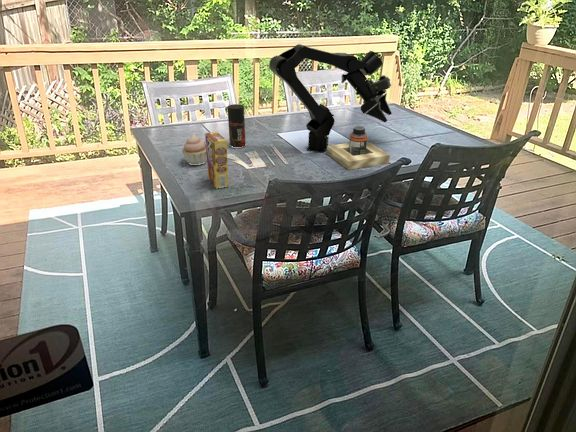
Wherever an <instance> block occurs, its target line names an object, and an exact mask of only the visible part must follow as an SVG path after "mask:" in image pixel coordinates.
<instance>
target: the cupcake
mask: <svg viewBox="0 0 576 432" xmlns="http://www.w3.org/2000/svg"><path fill="white" fill-rule="evenodd" d="M181 153H182V154H183V155H184V156H183V157H184V158H185V161H186V162H188V163H191V164H199V163H203V162H205V161H206V162H207V154H206V141H204V139H202V138H200V137H198V136H197V135H195V134H192V136H190V137H189V138H188V139H186V142H185V143H184V145H183V148H182V150H181ZM206 162H205V163H206ZM188 163H187V164H188Z"/></svg>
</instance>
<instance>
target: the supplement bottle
mask: <svg viewBox="0 0 576 432" xmlns="http://www.w3.org/2000/svg"><path fill="white" fill-rule="evenodd" d="M367 141H368V134H367V133H366V127H365V126H360V125H356V126H353V128H352V132H351V133H350V135H349V143H350V145H349V153H350V154H351V155H353V156H356V155H362V154H366V146H367Z"/></svg>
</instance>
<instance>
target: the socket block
mask: <svg viewBox="0 0 576 432" xmlns="http://www.w3.org/2000/svg"><path fill="white" fill-rule="evenodd" d="M349 145H350V142H345V143H339V144H331V145H328V146H327V149H326V154H327V155H328V156H329V157H331V158H332V159H333V160H334V161H336V162H337V163H339V164H340V165H341V166H342V167H343V168H345V169H346V170H348V171H350V170H357V169H362V168H368V167H375V166H381V165H386V164H389V163H390V154H389V153H387V152H385V151H384V150H383V149H381V148H379V147H378V146H376V145H374V144H373V143H371V142H369V141H368V140H367V146H366V154H362V155H356V156H353V155H351V154H350V153H349Z"/></svg>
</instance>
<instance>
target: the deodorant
mask: <svg viewBox="0 0 576 432" xmlns="http://www.w3.org/2000/svg"><path fill="white" fill-rule="evenodd" d="M227 118H228V119H227V122H228V134H229V135H228V138H229V146H230V145H231V146H233V147H242V146H245V144H246V125H245V106H244V104H240V103H237V104H236V103H234V104H229V105H227ZM245 147H246V146H245Z"/></svg>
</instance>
